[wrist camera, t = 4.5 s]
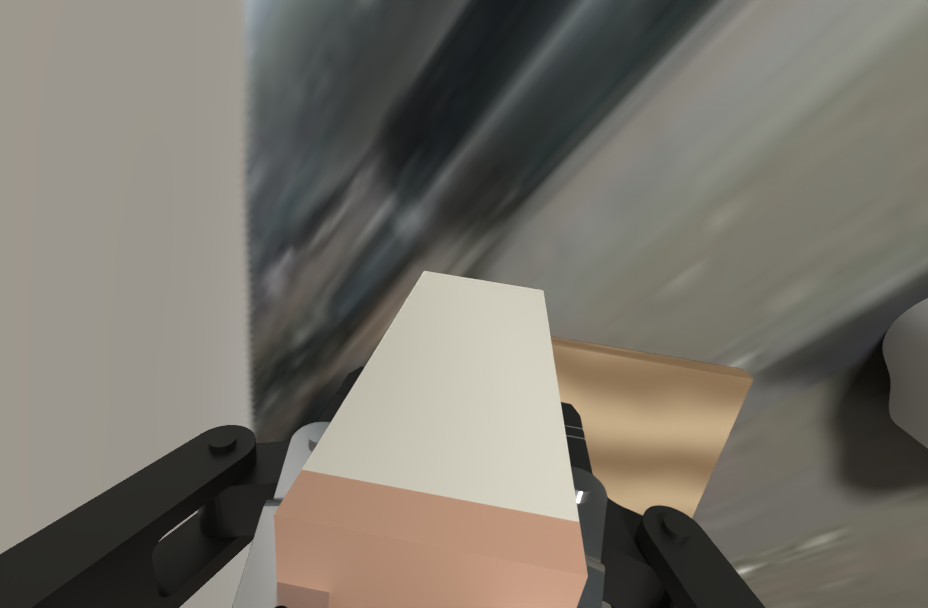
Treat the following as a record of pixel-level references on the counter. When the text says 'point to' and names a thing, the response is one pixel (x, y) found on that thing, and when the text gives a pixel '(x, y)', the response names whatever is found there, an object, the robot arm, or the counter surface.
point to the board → (649, 420)
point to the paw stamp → (909, 371)
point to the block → (443, 465)
